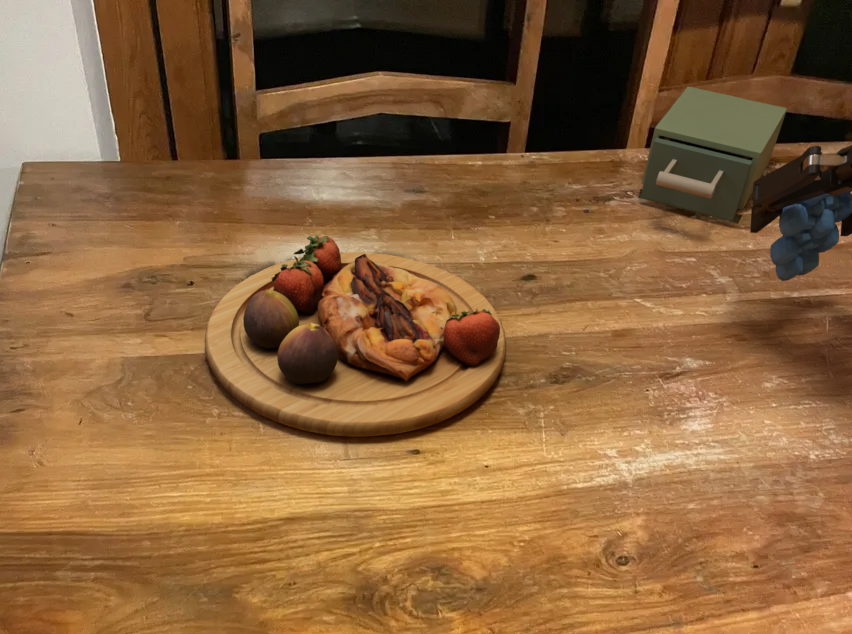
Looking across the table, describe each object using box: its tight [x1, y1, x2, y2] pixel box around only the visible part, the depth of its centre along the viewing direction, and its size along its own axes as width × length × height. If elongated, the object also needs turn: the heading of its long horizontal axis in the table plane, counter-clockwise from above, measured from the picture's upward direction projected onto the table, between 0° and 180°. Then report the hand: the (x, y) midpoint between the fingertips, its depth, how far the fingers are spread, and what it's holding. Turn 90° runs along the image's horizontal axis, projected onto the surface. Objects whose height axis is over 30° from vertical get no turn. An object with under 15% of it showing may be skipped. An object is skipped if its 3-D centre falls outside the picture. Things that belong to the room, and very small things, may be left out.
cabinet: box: [638, 86, 788, 224], centre depth 125 cm, size 16×14×9 cm
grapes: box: [769, 181, 852, 282], centre depth 100 cm, size 12×7×12 cm, turn 127°
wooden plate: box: [204, 234, 507, 437], centre depth 98 cm, size 32×32×8 cm
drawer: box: [641, 137, 753, 222], centre depth 122 cm, size 21×12×7 cm, turn 153°
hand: (799, 222), depth 103 cm, fingers closed on grapes, 9 cm apart
